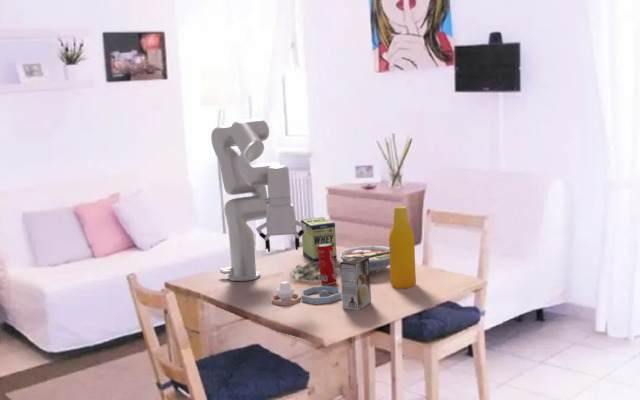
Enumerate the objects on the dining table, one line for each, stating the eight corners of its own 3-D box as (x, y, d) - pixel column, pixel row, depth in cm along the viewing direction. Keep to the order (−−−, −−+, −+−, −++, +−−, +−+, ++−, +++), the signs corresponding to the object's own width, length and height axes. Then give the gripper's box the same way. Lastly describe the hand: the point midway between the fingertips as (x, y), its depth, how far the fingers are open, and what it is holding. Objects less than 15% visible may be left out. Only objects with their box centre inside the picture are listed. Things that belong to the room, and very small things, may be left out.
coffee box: (355, 300, 270) (353, 255, 267) (371, 302, 266) (369, 257, 263) (341, 308, 262) (339, 262, 259) (358, 310, 258) (356, 263, 256)
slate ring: (302, 304, 268) (301, 298, 268) (301, 292, 282) (300, 287, 281) (342, 301, 269) (341, 296, 268) (339, 290, 282) (338, 284, 282)
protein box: (313, 262, 324) (311, 225, 321) (302, 254, 338) (300, 219, 335) (337, 259, 327) (335, 222, 324) (325, 251, 341) (323, 216, 339)
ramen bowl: (378, 259, 322) (377, 240, 320) (412, 271, 302) (412, 250, 301) (327, 270, 309) (326, 250, 308) (359, 283, 290) (358, 261, 288)
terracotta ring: (271, 305, 269) (271, 302, 268) (271, 297, 278) (271, 294, 278) (300, 303, 269) (300, 300, 269) (299, 295, 279) (299, 292, 279)
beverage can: (335, 285, 289) (333, 246, 286) (317, 285, 290) (315, 246, 287) (337, 280, 294) (335, 242, 292) (321, 280, 296) (318, 242, 293)
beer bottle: (404, 280, 291) (401, 203, 286) (421, 284, 283) (418, 206, 278) (385, 285, 286) (382, 207, 280) (402, 290, 278) (399, 210, 273)
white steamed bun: (294, 297, 277) (293, 278, 276) (294, 302, 271) (293, 283, 270) (277, 298, 277) (275, 279, 276) (276, 303, 271) (275, 284, 269)
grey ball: (319, 301, 270) (319, 291, 269) (319, 298, 274) (318, 288, 273) (330, 301, 270) (329, 291, 270) (329, 298, 274) (328, 288, 273)
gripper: (254, 205, 264) (257, 254, 266) (305, 201, 264) (308, 250, 267) (254, 201, 271) (258, 249, 274) (304, 198, 272) (307, 245, 275)
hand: (282, 250), depth 271 cm, fingers open, 9 cm apart
